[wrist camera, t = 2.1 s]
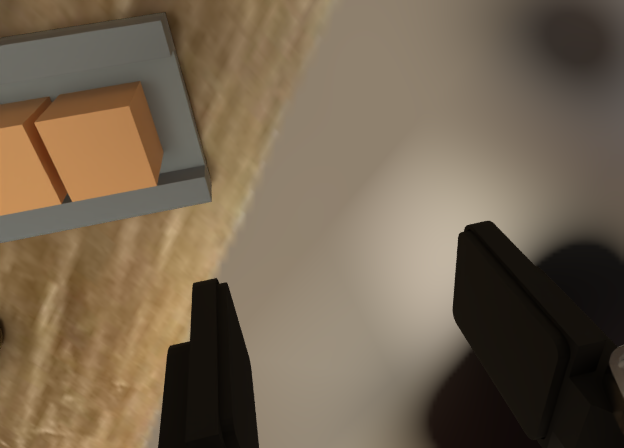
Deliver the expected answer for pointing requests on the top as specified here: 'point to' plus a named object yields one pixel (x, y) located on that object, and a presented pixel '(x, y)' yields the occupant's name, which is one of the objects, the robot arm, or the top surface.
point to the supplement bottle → (1, 338)
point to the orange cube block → (26, 160)
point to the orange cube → (102, 141)
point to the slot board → (101, 73)
